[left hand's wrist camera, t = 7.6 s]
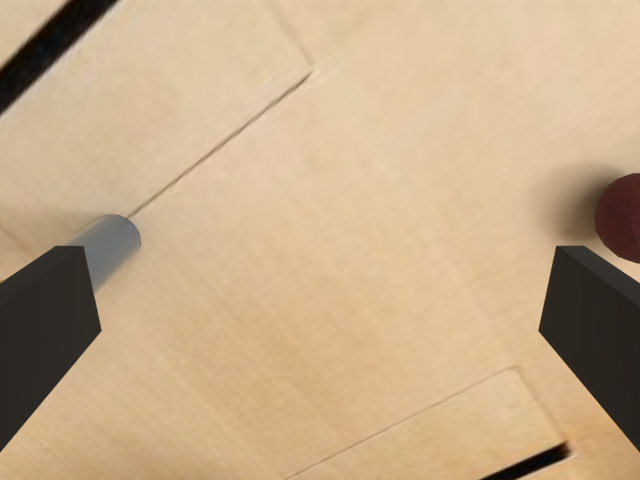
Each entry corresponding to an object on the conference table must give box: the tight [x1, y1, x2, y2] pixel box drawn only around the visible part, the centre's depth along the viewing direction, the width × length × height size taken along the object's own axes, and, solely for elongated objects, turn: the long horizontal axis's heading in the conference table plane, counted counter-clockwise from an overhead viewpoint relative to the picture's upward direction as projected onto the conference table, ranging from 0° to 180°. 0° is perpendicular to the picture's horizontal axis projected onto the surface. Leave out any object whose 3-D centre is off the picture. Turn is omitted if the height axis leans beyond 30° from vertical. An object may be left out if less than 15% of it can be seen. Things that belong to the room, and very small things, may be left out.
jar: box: [59, 215, 141, 296], centre depth 34 cm, size 5×5×16 cm
